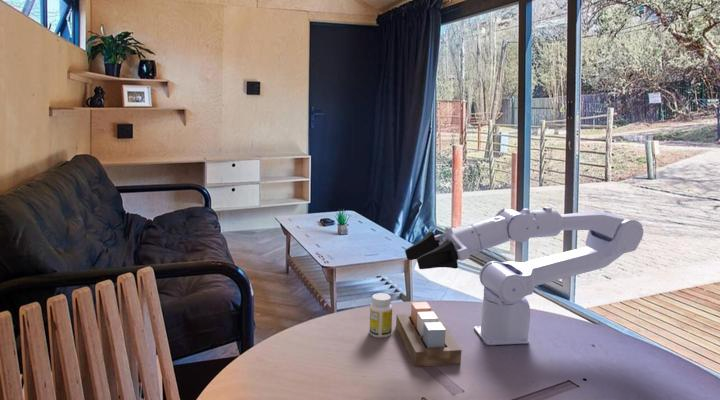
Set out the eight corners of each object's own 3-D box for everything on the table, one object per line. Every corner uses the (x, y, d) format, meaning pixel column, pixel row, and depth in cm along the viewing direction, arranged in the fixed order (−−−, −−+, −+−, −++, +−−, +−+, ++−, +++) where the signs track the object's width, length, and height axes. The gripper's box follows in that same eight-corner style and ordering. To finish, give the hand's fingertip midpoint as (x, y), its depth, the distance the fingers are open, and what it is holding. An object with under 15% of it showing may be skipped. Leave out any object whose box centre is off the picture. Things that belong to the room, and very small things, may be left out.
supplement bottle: (391, 329, 114) (393, 293, 113) (390, 338, 110) (392, 301, 108) (370, 327, 115) (371, 291, 113) (368, 337, 110) (369, 300, 108)
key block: (435, 325, 117) (435, 312, 116) (460, 364, 100) (461, 350, 100) (395, 327, 115) (396, 314, 115) (415, 366, 99) (415, 352, 98)
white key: (432, 327, 109) (433, 311, 108) (437, 335, 106) (438, 318, 105) (416, 328, 109) (417, 312, 108) (420, 336, 105) (421, 319, 104)
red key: (425, 317, 114) (426, 301, 113) (430, 324, 111) (431, 308, 110) (410, 318, 113) (411, 302, 113) (414, 325, 110) (415, 308, 109)
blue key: (439, 338, 104) (440, 321, 103) (444, 347, 101) (445, 329, 100) (422, 339, 104) (423, 322, 103) (427, 347, 100) (428, 330, 100)
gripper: (455, 214, 112) (396, 233, 110) (485, 226, 98) (418, 248, 96) (462, 245, 113) (405, 264, 111) (493, 260, 99) (428, 283, 97)
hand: (412, 259), depth 104 cm, fingers open, 7 cm apart
